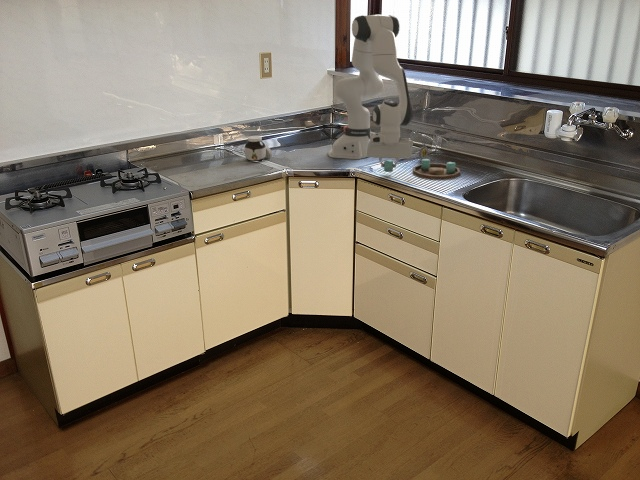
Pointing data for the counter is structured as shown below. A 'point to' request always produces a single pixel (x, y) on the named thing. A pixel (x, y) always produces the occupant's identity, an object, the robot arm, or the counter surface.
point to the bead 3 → (450, 167)
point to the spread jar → (256, 149)
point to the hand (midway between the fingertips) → (388, 167)
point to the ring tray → (435, 172)
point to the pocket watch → (424, 152)
